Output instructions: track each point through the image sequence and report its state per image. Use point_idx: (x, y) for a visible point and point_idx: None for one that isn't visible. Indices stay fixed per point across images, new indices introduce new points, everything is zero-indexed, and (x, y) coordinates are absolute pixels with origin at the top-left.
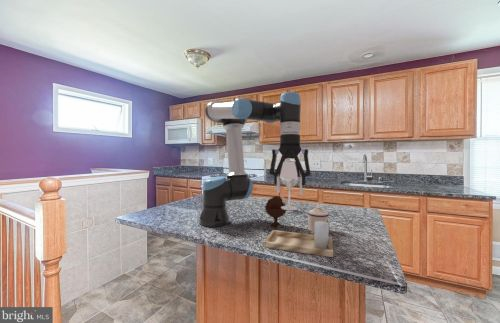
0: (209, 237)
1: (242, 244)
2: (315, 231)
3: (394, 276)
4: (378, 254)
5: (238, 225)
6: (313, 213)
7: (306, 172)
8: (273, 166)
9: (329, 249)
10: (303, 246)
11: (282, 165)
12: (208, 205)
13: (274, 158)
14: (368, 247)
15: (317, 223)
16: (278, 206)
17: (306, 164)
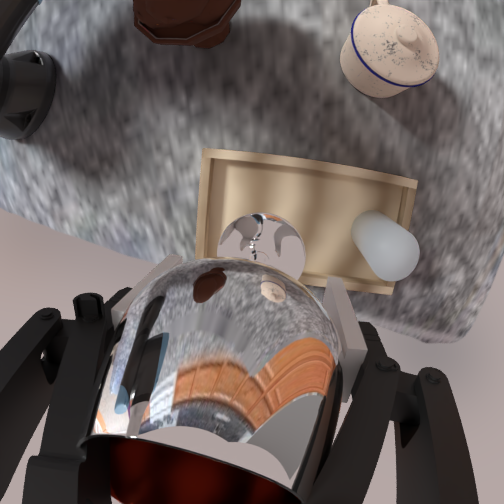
0: (51, 210)
1: (135, 235)
2: (364, 257)
3: (468, 320)
4: (492, 227)
5: (84, 83)
6: (379, 68)
7: (395, 434)
8: (44, 410)
9: None
10: (315, 279)
11: (134, 475)
12: None
13: (8, 470)
14: (488, 186)
15: (379, 264)
16: (195, 17)
17: (409, 499)
